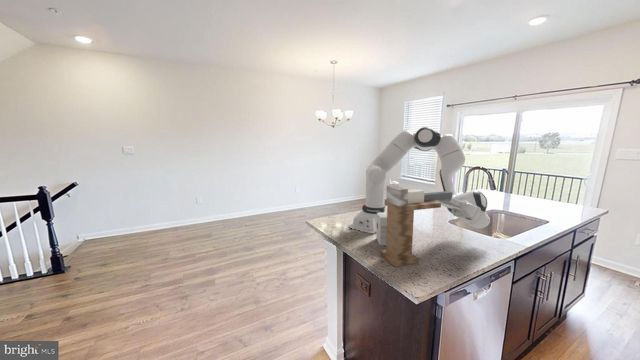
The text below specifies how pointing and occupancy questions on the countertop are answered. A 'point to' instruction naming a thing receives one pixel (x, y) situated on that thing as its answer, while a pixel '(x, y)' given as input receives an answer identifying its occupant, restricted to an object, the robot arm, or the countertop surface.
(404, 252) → the stand
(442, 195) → the grey and white bar
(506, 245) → the countertop surface
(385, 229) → the supplement box
